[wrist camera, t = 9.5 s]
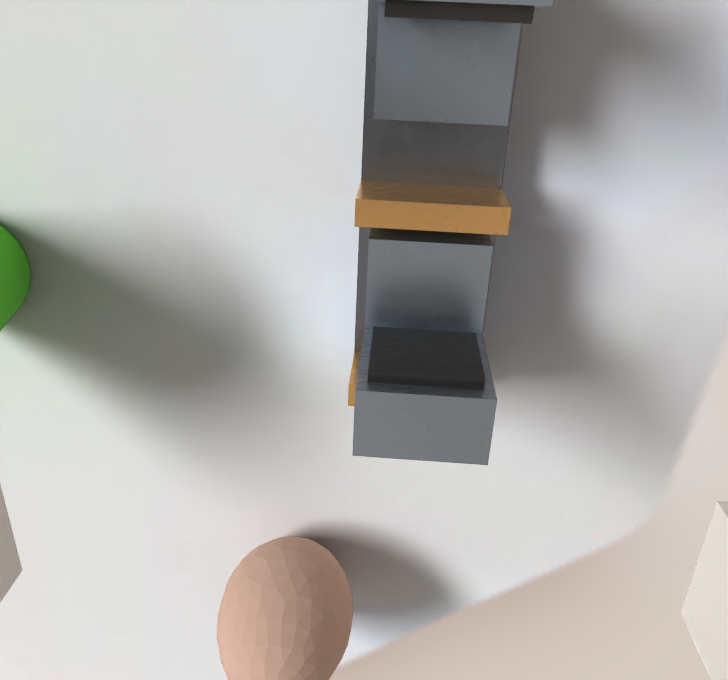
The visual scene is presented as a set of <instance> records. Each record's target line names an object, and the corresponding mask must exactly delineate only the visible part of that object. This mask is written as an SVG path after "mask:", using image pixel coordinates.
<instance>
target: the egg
mask: <svg viewBox="0 0 728 680" xmlns="http://www.w3.org/2000/svg"><path fill="white" fill-rule="evenodd" d="M352 618H353V601H352V593H351V589H350V584H349V581H348V579H347V576H346V574H345V571H344V570H343V568H342V567H341V565H340V564H339V562H338V561H337V559H336V558H335V557H334V556H333V555H332V553H331V552H330V551H329V550H327V549H326V548H324V547H323V546H321V545H320V544H318V543H317V542H315V541H313V540H311V539H306V538H301V537H294V536H291V537H281V538H277V539H275V540H272V541H269V542H267V543H265V544H262V545H260V546H258V547H257V548H255V549H254V550H253V551H251V552H250V553H249V554H248V555H247V556H246V557H245V558H244V559H243V560H242V561H241V562H240V564H239V565H238V566H237V568H236V569H235V570H234V572H233V573H232V575H231V577H230V579H229V581H228V583H227V585H226V588H225V592H224V595H223V598H222V601H221V605H220V609H219V613H218V624H217V640H218V646H219V651H220V657H221V662H222V665H223V668H224V670H225V673H226V675H227V678H228V680H329V678H330V677H331V675H332V674H333V672H334V671H335V669H336V667H337V666H338V664H339V663H340V661H341V659H342V657H343V655H344V652H345V650H346V647H347V645H348V640H349V636H350V632H351V625H352Z"/></svg>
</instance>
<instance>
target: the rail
mask: <svg viewBox="0 0 728 680" xmlns="http://www.w3.org/2000/svg"><path fill="white" fill-rule="evenodd" d="M553 1H554V0H369V1H368V26H367V51H366V76H365V101H364V126H363V151H362V176H361V184H360V187H359V190H358V193H357V197H356V206H355V227H359V251H358V276H357V301H356V326H355V351H354V357H353V363H352V369H351V375H350V381H349V395H348V406H355V389H356V382H357V376H358V369H359V362H360V356H361V349H362V342H363V336H364V329H365V312H366V290H367V268H368V246H369V235H370V230H371V227H372V228H389V229H407V230H424V231H441V232H458V233H476V234H489V236H490V239H491V242H492V244H493V249H494V242H495V235H508V230H509V223H510V216H511V206H510V204H509V202H508V200H507V199H506V197H505V195H504V193H503V191H502V189H501V187H502V179H503V171H504V164H505V156H506V148H507V140H508V132H509V125H510V117H511V109H512V101H513V93H514V86H515V78H516V70H517V62H518V54H519V47H520V39H521V31H522V23H525V24H532V20H533V12H534V8H543V7H551V6H553ZM492 257H493V251H492ZM491 265H492V259H491ZM490 273H491V267H490ZM489 281H490V275H489ZM488 288H489V283H488ZM487 296H488V291H487ZM486 304H487V299H486ZM485 312H486V306H485ZM484 320H485V314H484ZM483 327H484V322H483ZM482 335H483V330H482Z"/></svg>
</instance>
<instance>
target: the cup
mask: <svg viewBox="0 0 728 680" xmlns="http://www.w3.org/2000/svg"><path fill="white" fill-rule="evenodd" d="M30 275H31V274H30V268H29V262H28V259H27V257H26V254H25V252H24V250H23V248H22V247H21V245H20V244H19V242H18V241H17V239H16V238H15V237H14V236H13V235H12V234H11V233H10V232H9V231H8V230H7V229H6V228H4V227H3V226H1V225H0V331H1V330H2V328H3V327H4V326H5V325H6V324H7V322H8V321H9V320H10V319H11V317H12V316H13V315H14V314H15V313H16V311H17V310H18V309H19V308H20V306H21V305H22V304H23V303H24V301H25V299H26V296H27V294H28V291H29V284H30Z"/></svg>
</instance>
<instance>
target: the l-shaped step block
mask: <svg viewBox="0 0 728 680" xmlns="http://www.w3.org/2000/svg"><path fill="white" fill-rule="evenodd" d="M492 251H493V244H492V242H491V239H490V236H489V234H476V233H458V232H441V231H424V230H407V229H389V228H372V227H371V230H370V235H369V246H368V268H367V290H366V312H365V329H364V336H363V342H362V349H361V356H360V362H359V369H358V376H357V382H356V389H355V410H354V435H353V456H366V457H380V458H395V459H409V460H423V461H437V462H452V463H466V464H480V465H488V459H489V452H490V445H491V438H492V432H493V425H494V418H495V411H496V404H497V397H496V393H495V389H494V384H493V380H492V376H491V371H490V367H489V363H488V358H487V354H486V349H485V345H484V341H483V336H482V330H483V322H484V314H485V306H486V299H487V291H488V283H489V275H490V267H491V259H492Z"/></svg>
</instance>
